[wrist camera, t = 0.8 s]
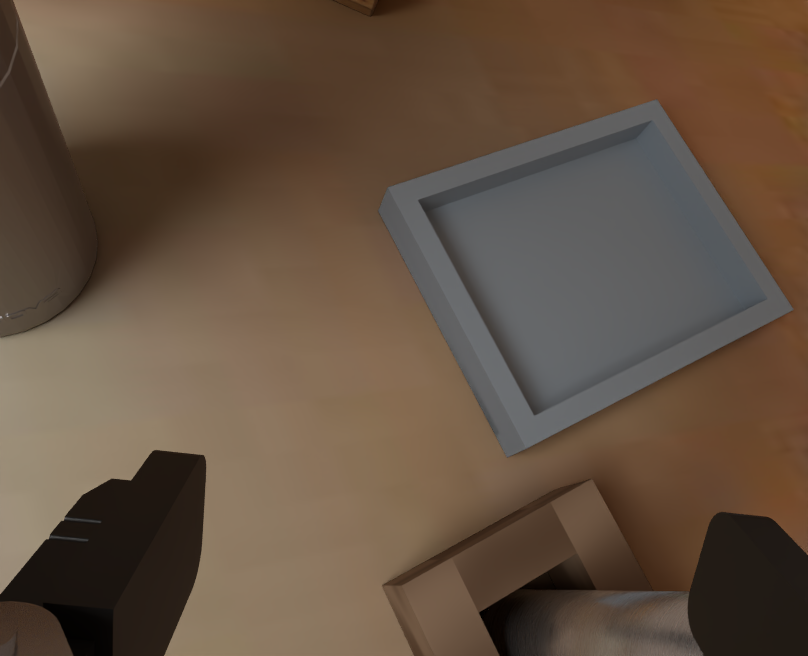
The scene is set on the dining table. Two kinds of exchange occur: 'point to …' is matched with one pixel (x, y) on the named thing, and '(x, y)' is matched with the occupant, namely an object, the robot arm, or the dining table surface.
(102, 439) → the dining table surface
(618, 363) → the pin tray
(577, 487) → the socket block
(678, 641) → the steel pin
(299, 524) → the dining table surface
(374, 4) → the tray
